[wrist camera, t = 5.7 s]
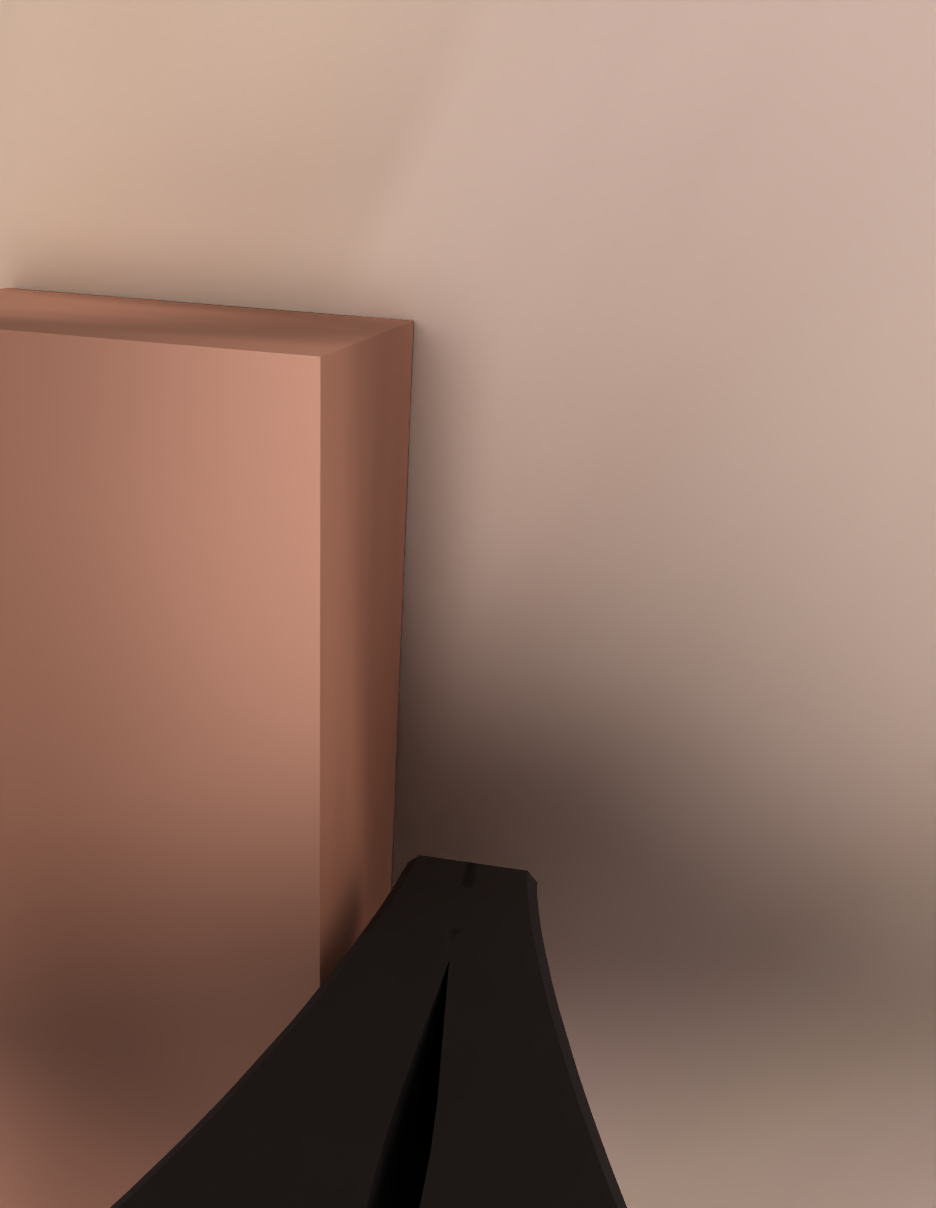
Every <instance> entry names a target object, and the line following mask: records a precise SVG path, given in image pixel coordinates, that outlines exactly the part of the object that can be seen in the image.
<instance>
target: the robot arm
mask: <svg viewBox="0 0 936 1208" xmlns="http://www.w3.org/2000/svg"><path fill="white" fill-rule="evenodd" d="M110 1208H627V1206H626V1204H625V1201H624V1199H623V1196H622V1194H621V1191H620V1189H619V1186H618V1184H617V1181H616V1178H615V1176H614V1173H613V1171H612V1168H611V1165H610V1163H609V1160H608V1157H607V1154H606V1152H605V1149H604V1146H603V1143H602V1141H601V1138H600V1135H599V1132H598V1130H597V1127H596V1124H595V1122H594V1119H593V1116H592V1113H591V1110H590V1108H589V1105H588V1102H587V1099H586V1096H585V1093H584V1090H583V1087H582V1084H581V1081H580V1078H579V1075H578V1072H577V1068H576V1065H575V1061H574V1058H573V1055H572V1051H571V1048H570V1045H569V1041H568V1038H567V1035H566V1031H565V1028H564V1025H563V1021H562V1018H561V1014H560V1011H559V1008H558V1004H557V1000H556V996H555V992H554V988H553V984H552V980H551V976H550V971H549V967H548V962H547V958H546V953H545V949H544V943H543V938H542V932H541V926H540V919H539V911H538V901H537V882H536V881H535V879H534V878H533V877H532V876H531V875H530V873H529V872H528V871H524V870H517V869H510V868H503V867H497V866H490V865H483V864H476V863H469V862H462V861H455V860H449V859H442V858H435V857H428V856H421V855H419V856H417V857H416V858H414V859H413V860H411V861H410V862H408V863H407V865H406V867H405V868H404V870H403V872H402V874H401V875H400V877H399V879H398V880H397V882H396V884H395V885H394V887H393V888H392V890H391V891H390V893H389V894H388V896H387V898H386V899H385V901H384V902H383V904H382V905H381V906H380V908H379V909H378V911H377V912H376V914H375V915H374V917H373V918H372V919H371V921H370V922H369V924H368V925H367V926H366V928H365V929H364V930H363V932H362V933H361V934H360V936H359V937H358V939H357V940H356V941H355V943H354V944H353V945H352V947H351V948H350V949H349V951H348V952H347V953H346V955H345V956H344V957H343V958H342V960H341V961H340V962H339V963H338V965H337V966H336V967H335V968H334V970H333V971H332V972H331V973H330V975H329V976H328V977H327V978H326V980H325V981H324V982H323V983H322V985H321V986H320V987H319V988H318V990H317V991H316V992H315V993H314V995H313V996H312V997H311V998H310V1000H309V1001H308V1002H307V1003H306V1005H305V1006H304V1007H303V1008H302V1009H301V1011H300V1012H299V1013H298V1014H297V1015H296V1017H295V1018H294V1019H293V1020H292V1021H291V1022H290V1024H289V1025H288V1026H287V1027H286V1028H285V1029H284V1030H283V1031H282V1032H281V1034H280V1035H279V1036H278V1037H277V1038H276V1039H275V1040H274V1041H273V1042H272V1044H271V1045H270V1046H269V1047H268V1048H267V1049H266V1050H265V1051H264V1052H263V1054H262V1055H261V1056H260V1057H259V1058H258V1059H257V1060H256V1061H255V1063H254V1064H253V1065H252V1066H251V1067H250V1068H249V1069H248V1070H247V1071H246V1073H245V1074H244V1075H243V1076H242V1077H241V1078H240V1079H239V1080H238V1081H237V1083H236V1084H235V1085H234V1086H233V1087H232V1088H231V1089H230V1090H229V1091H228V1092H227V1093H226V1094H225V1096H224V1097H223V1098H222V1099H221V1100H220V1101H219V1102H218V1103H217V1104H216V1105H215V1106H214V1107H213V1108H212V1109H211V1110H210V1111H209V1112H208V1113H207V1114H206V1115H205V1116H204V1117H203V1118H202V1119H201V1120H200V1121H199V1122H198V1123H197V1124H196V1125H195V1126H194V1127H193V1128H192V1129H191V1130H190V1131H189V1132H188V1133H187V1134H186V1135H185V1136H184V1137H183V1138H182V1139H181V1140H180V1141H179V1142H178V1143H177V1144H176V1145H175V1146H174V1147H173V1148H172V1149H171V1150H170V1151H169V1152H168V1153H167V1154H166V1155H165V1156H164V1157H163V1158H162V1159H161V1160H160V1161H159V1162H158V1163H157V1164H156V1165H155V1166H154V1167H153V1168H152V1169H151V1170H149V1171H148V1172H147V1173H146V1174H145V1175H144V1176H143V1177H142V1178H141V1179H140V1180H139V1181H138V1182H137V1183H136V1184H135V1185H134V1186H133V1187H132V1188H131V1189H130V1190H129V1191H128V1192H126V1193H125V1194H124V1195H123V1196H122V1197H121V1198H120V1199H119V1200H118V1201H117V1202H116V1203H115V1204H113V1205H112V1206H111V1207H110Z"/></svg>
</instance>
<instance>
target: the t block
mask: <svg viewBox="0 0 936 1208" xmlns="http://www.w3.org/2000/svg"><path fill="white" fill-rule="evenodd" d="M413 326H414V321H410V320H397V319H385V318H372V317H360V316H347V315H335V314H322V313H310V312H298V311H285V310H273V309H260V308H248V307H235V306H223V305H210V304H198V303H186V302H173V301H161V300H148V299H136V298H123V297H111V296H99V295H86V294H74V293H61V292H49V291H36V290H24V289H11V288H5V289H0V1208H110V1207H111V1206H112V1205H113V1204H115V1203H116V1202H117V1201H118V1200H119V1199H120V1198H121V1197H122V1196H123V1195H124V1194H125V1193H126V1192H128V1191H129V1190H130V1189H131V1188H132V1187H133V1186H134V1185H135V1184H136V1183H137V1182H138V1181H139V1180H140V1179H141V1178H142V1177H143V1176H144V1175H145V1174H146V1173H147V1172H148V1171H149V1170H151V1169H152V1168H153V1167H154V1166H155V1165H156V1164H157V1163H158V1162H159V1161H160V1160H161V1159H162V1158H163V1157H164V1156H165V1155H166V1154H167V1153H168V1152H169V1151H170V1150H171V1149H172V1148H173V1147H174V1146H175V1145H176V1144H177V1143H178V1142H179V1141H180V1140H181V1139H182V1138H183V1137H184V1136H185V1135H186V1134H187V1133H188V1132H189V1131H190V1130H191V1129H192V1128H193V1127H194V1126H195V1125H196V1124H197V1123H198V1122H199V1121H200V1120H201V1119H202V1118H203V1117H204V1116H205V1115H206V1114H207V1113H208V1112H209V1111H210V1110H211V1109H212V1108H213V1107H214V1106H215V1105H216V1104H217V1103H218V1102H219V1101H220V1100H221V1099H222V1098H223V1097H224V1096H225V1094H226V1093H227V1092H228V1091H229V1090H230V1089H231V1088H232V1087H233V1086H234V1085H235V1084H236V1083H237V1081H238V1080H239V1079H240V1078H241V1077H242V1076H243V1075H244V1074H245V1073H246V1071H247V1070H248V1069H249V1068H250V1067H251V1066H252V1065H253V1064H254V1063H255V1061H256V1060H257V1059H258V1058H259V1057H260V1056H261V1055H262V1054H263V1052H264V1051H265V1050H266V1049H267V1048H268V1047H269V1046H270V1045H271V1044H272V1042H273V1041H274V1040H275V1039H276V1038H277V1037H278V1036H279V1035H280V1034H281V1032H282V1031H283V1030H284V1029H285V1028H286V1027H287V1026H288V1025H289V1024H290V1022H291V1021H292V1020H293V1019H294V1018H295V1017H296V1015H297V1014H298V1013H299V1012H300V1011H301V1009H302V1008H303V1007H304V1006H305V1005H306V1003H307V1002H308V1001H309V1000H310V998H311V997H312V996H313V995H314V993H315V992H316V991H317V990H318V988H319V987H320V986H321V985H322V983H323V982H324V981H325V980H326V978H327V977H328V976H329V975H330V973H331V972H332V971H333V970H334V968H335V967H336V966H337V965H338V963H339V962H340V961H341V960H342V958H343V957H344V956H345V955H346V953H347V952H348V951H349V949H350V948H351V947H352V945H353V944H354V943H355V941H356V940H357V939H358V937H359V936H360V934H361V933H362V932H363V930H364V929H365V928H366V926H367V925H368V924H369V922H370V921H371V919H372V918H373V917H374V915H375V914H376V912H377V911H378V909H379V908H380V906H381V905H382V904H383V902H384V901H385V899H386V898H387V896H388V894H389V893H390V891H391V876H392V851H393V826H394V801H395V776H396V751H397V726H398V701H399V676H400V651H401V626H402V601H403V576H404V551H405V526H406V501H407V476H408V451H409V426H410V401H411V376H412V351H413Z"/></svg>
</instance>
